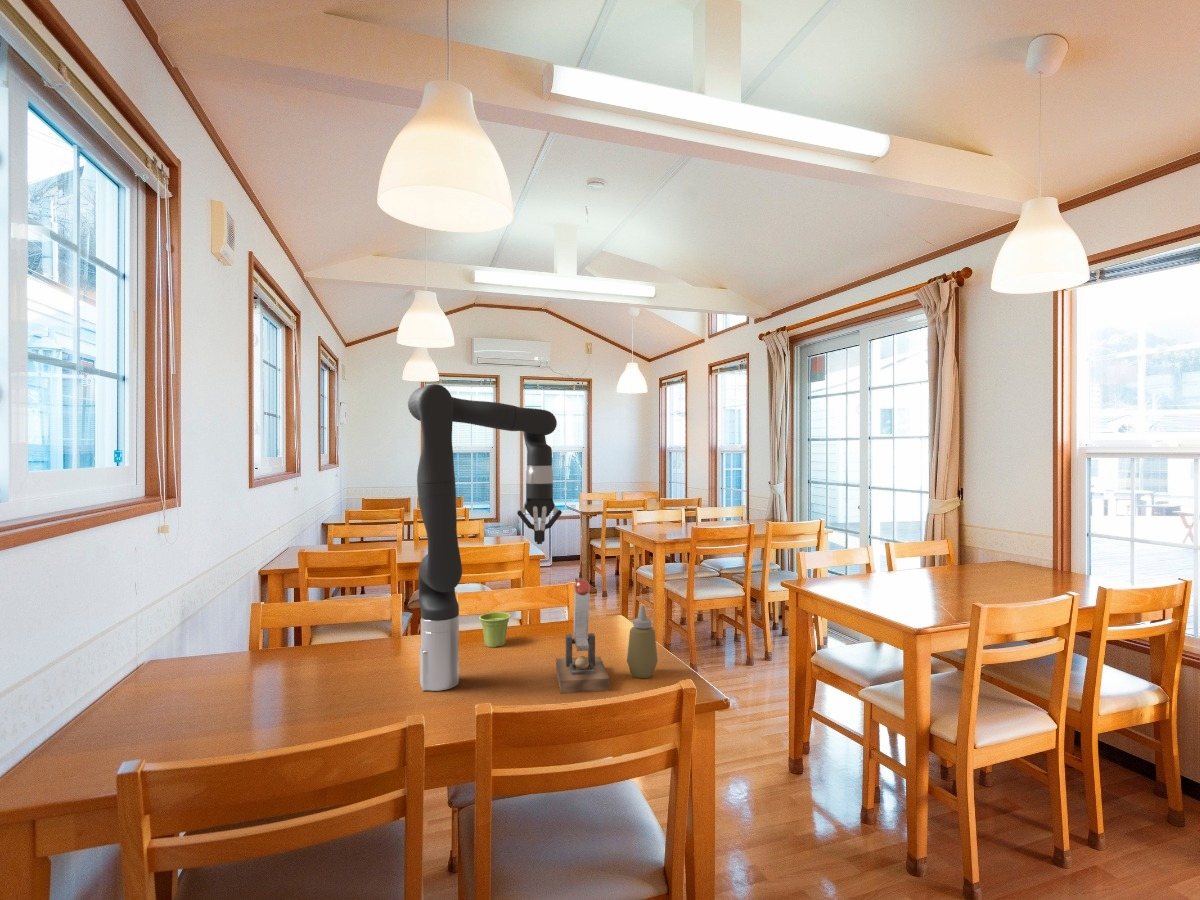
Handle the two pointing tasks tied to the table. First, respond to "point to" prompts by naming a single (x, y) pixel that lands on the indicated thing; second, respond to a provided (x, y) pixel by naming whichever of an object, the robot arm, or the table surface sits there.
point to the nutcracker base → (581, 679)
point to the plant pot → (494, 628)
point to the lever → (581, 615)
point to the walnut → (582, 663)
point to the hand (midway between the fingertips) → (539, 543)
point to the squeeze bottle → (642, 647)
